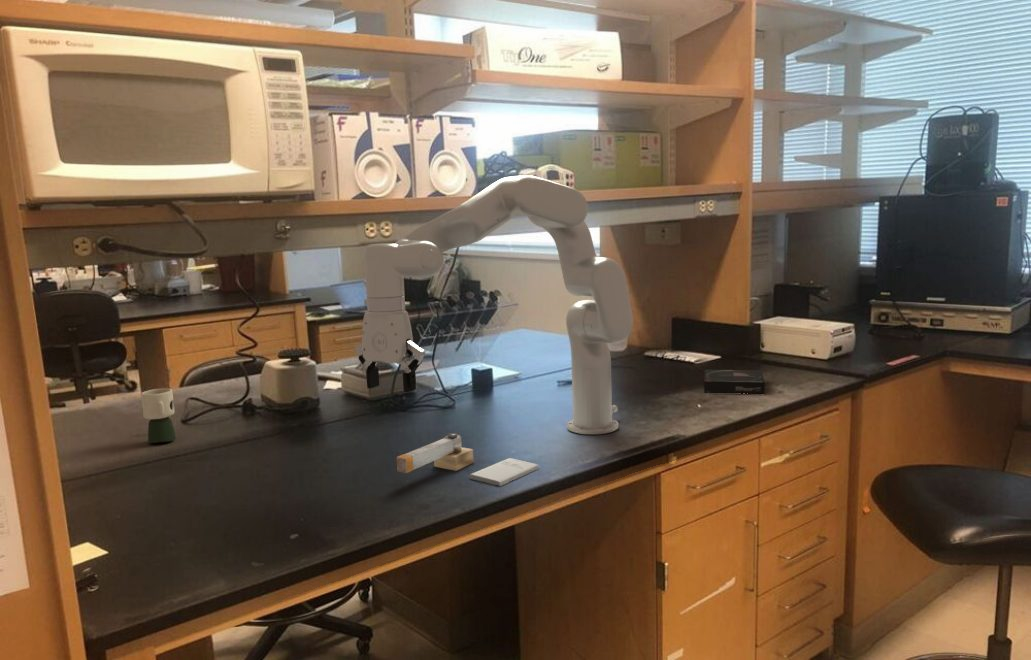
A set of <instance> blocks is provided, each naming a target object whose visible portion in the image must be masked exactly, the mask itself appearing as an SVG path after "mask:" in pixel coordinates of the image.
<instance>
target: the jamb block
mask: <svg viewBox="0 0 1031 660" xmlns="http://www.w3.org/2000/svg"><path fill="white" fill-rule="evenodd" d="M474 462H475V461H474V449H472V448H467V447H462V450H461V451H458V452H453V453H451V454H449V455H446V456H444V457H442V458H439V459H437V460H435V461H433V464H434V465H433V466H434V467H436V468H440V469H445V470H451V471H459V470H461V469H463V468H465V467H467V466H470V465H473V463H474Z"/></svg>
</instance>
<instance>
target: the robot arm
mask: <svg viewBox="0 0 1031 660" xmlns="http://www.w3.org/2000/svg"><path fill="white" fill-rule="evenodd" d="M588 213H589V205H588V202H587V198H586V197H585V196H584V194H583V193H582V192H581V191H579V190H578V189H576V188H574V187H571V186H568V185H564V184H561V183H557V182H554V181H551V180H549V179H545V178H542V177H538V176H535V175H529V174H528V175H526V174H525V175H524V174H523V175H514V176H506V177H503V178H500V179H498V180H497V181H495V182H493V183H491V184H490V185H489V186H487V187H485V188H484V189H483V190H481V191H480V192H478V193H477V194H476V195H474V196H472V197H471V198H469V199H468V200H466V201H465V202H463V203H461V204H460V205H458V206H456V207H455V208H453V209H451V210H448V211H446V212H444V213H443V214H441V215H439V216H438V217H435V218H433V219H432V220H430V221H427V222H425V223H423V224H421V225H420V226H418V227H416V228H415V229H413V230H412V231H410V232H409V233H407V234H406V235H404V236H403V237H401V238H400V239H398V240H397V241H395V243H391V242H389V243H388V242H387V243H385V242H384V243H383V242H382V243H371V244H368V245H366V246H365V248H364V250H363V259H364V276H365V290H366V291H365V292H366V298H365V299H364V301H363V303H364V306H366V308H367V311H366V312H364V315H363V321H362V332H361V335H362V336H361V339H362V340H361V342H360V343H359V344H358V345H356V346H355V347H354V352H355V353H356V355H357V357H358V361H359V362H360V363H361V365H362V368H363V369H364V370H365V375H366V376H365V377H366V388H367V389H373V388H376V387H378V386H380V374H379V372H380V371H379V366H377V364H378V363H387V364H398V363H399V365H400V366H401V368H402V369H403V371H404V372H402V383H403V385H402V386H403V392H404V393H410V392H412V391H416V385H417V382H416V381H417V379H416V371H418V369H419V367H420V366H421V364H422V362H423V359H424V357H425V355H426V351H425V350H424V349H423V348H421V347H419V345H417V344H416V343H415V342H414V336H413V332H412V331H413V330H412V325H411V324H412V323H411V320H410V316H409V312H408V311H407V310H406V301H405V298H406V297H405V280H404V278H420V279H425V278H431V277H433V276H435V275H436V274H438V273H439V272H440V270H441V269H442V268H443V265H444V260H445V258H444V253H445V252H447V251H450V250H453V249H458V248H460V247H467V246H470V245H472V244H475V243H477V242H480V241H481V240H483V239H484V238H486V237H487V236H489V235H490V234H492V233H493V232H494V231H496V230H497V229H499V228H500V227H502V226H503V225H504V224H505V223H507V222H509V221H510V220H512V219H513V218H514V217H515V218H516V217H517V216H520V217H521V216H526V217H527V218H528V219H529V220H530V222H531V223H532V224H534V225H536V226H538V227H540V228H542V229H543V230H545V231H546V232H547V233H548V234H549V235H550V236H551V238H552V240H553V241H554V243H555V247H556V249H557V253H558V259H559V264H560V269H561V273H562V278H563V279H562V280H563V282H564V286H565V288H566V290H567V292H568V293H569V294H571V295H573V296H576V297H581V298H591V299H583V300H578V301H576V302H575V303H573V304H572V305H571V306H570V307H569V309H568V311H567V313H566V319H565V320H566V322H565V323H566V324H565V325H566V330H567V334H568V335H567V336H568V339H569V344H570V345H569V346H570V355H571V384H572V385H571V386H572V387H571V391H572V419H571V420H569V421H568V422H567V423H566V428H567V430H568V431H570V432H572V433H574V434H580V435H603V434H604V435H605V434H609V433H613V432H615V431H617V430H618V429H619V422H618V420H616V419H614V418H613V414H614V413H617V412H618V410H619V409H618V406H617V405H616V404H613V405H612V402H613V401H612V360H611V359H612V358H611V352H610V348H609V345H608V344H613V345H614V344H621V343H623V342H625V341H626V340H628V338H629V337H630V335H631V334H632V330H633V324H634V316H633V310H632V305H631V298H630V293H629V287H628V283H627V278H626V273H625V271H624V269H623V268H622V266H621V264H619V262H617V260H615V259H613V258H610V257H605V256H597V253H596V249H595V246H594V241H593V238H592V234H591V231H590V229H589V226H588V224H587V223H586V218H587V217H588ZM592 298H593V299H592Z"/></svg>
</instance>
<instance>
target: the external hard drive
mask: <svg viewBox="0 0 1031 660" xmlns="http://www.w3.org/2000/svg"><path fill="white" fill-rule="evenodd" d="M536 470H539V464H538V463H533V462H529V461H524V460H520V459H516V458H512V457H507V459H504V460H501V461H498V462H496V463H494V464H492V465H489V466H487V467H485V468H482V469H480V470H478V471H475V472H472V473H470V474H469V479H470V480H474V481H478V482H482V483H486V484H490V485H493V486H497V485H498V487H502V486H504V485H507V484H508V483H511V482H512V480H513V481H514V480H517V479H519V478H521V477H523V476H526V475H527V474H530V473H532V472H534V471H536ZM510 481H511V482H510Z"/></svg>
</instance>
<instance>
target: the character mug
mask: <svg viewBox="0 0 1031 660" xmlns="http://www.w3.org/2000/svg"><path fill="white" fill-rule="evenodd" d="M173 394H174V393H173V389H172V388H167V387H166V388H153V389H149V390H145V391H142V392H141V393H140V397H141V398H140V399H141V406H142V414H143V415H142V416H143V418H144V419H146V420H149V421H148V427H147V441H148V443H149V444H153V443H161V444H165V442H171V441H174V440H176V439H177V437H176V432H175V427H174V424H173V421H172V419H171V416H173V415H174V414H175V403H174V395H173Z"/></svg>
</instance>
